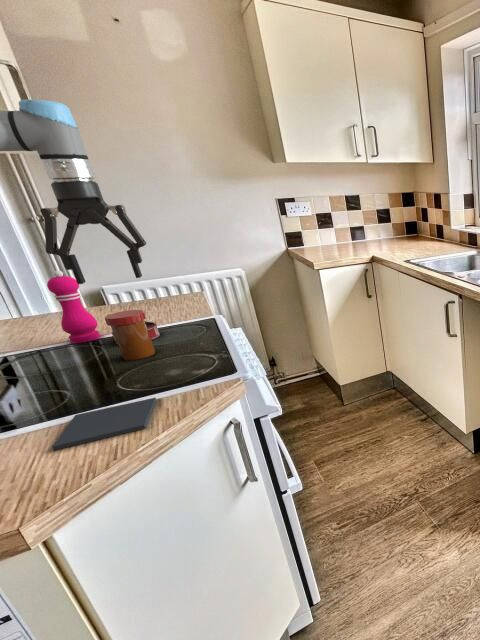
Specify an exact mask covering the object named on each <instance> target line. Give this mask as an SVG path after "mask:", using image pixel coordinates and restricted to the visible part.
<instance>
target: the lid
mask: <svg viewBox="0 0 480 640" xmlns="http://www.w3.org/2000/svg"><path fill="white" fill-rule="evenodd" d="M109 314H110V315H109ZM109 314H106V315H105V316H104V321H105V324H106V325H107V326H108V327H111V326H121V325H128V324H133V323H136V322H140V321H142V320H144V321H145V320H146V319H147V316H146V314H145V312H144V310H143V309H130V310H122V311H118V312H114V313H109Z"/></svg>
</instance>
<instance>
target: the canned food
mask: <svg viewBox="0 0 480 640" xmlns="http://www.w3.org/2000/svg"><path fill="white" fill-rule="evenodd" d="M110 314H111V313H109V314H108V315H110ZM144 321H145V324H146V327H147V330H148V332H149V335H150V338H151V340H154V339H156V338H158V337H159V336H160V335H161V333H160V330H159V328H158V325H157V323H156V322H153V321H146V320H144ZM111 335H112V337H113V340H114V342H115V344H116V345H118V344H117V341H116V338H115V336H114V333H113V331H112V332H111Z"/></svg>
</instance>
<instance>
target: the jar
mask: <svg viewBox="0 0 480 640" xmlns="http://www.w3.org/2000/svg"><path fill="white" fill-rule="evenodd" d="M145 321H146V320H145V319H144V320H142V321H140V322H136V323H133V324H128V325H121V326H110V328H111V331H112V332H113V333H114V336H115V338H116V341H117V344H116V345H117V346H118V348H119V351H120V353H121V356H122V359H123V360H125V361H134V360H140V359H145V358H148V357H151V356H153V355H155V354H156V348H155V346H154V343H153V340H152V339H151V338H150V335H149V332H148V330H147V327H146V324H145Z"/></svg>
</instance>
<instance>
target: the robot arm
mask: <svg viewBox="0 0 480 640" xmlns="http://www.w3.org/2000/svg"><path fill="white" fill-rule="evenodd" d="M18 107H19V108H18V110H0V152H37V154H38V155H39V159H40V162H41V164H42V167H43V169H44V171H45V174H46V176H47V178H48V179H49V180H52V182H51V183H50V186H51V189H52V191H53V194H54V196H55V200H56V201H57V206H56V207H42V208H40V213H41V215H42V217H43V219H44V239H45V240H44V241H45V252H46V254H48V255H54V256H55V255H56V256H59V257H60V259H61V262H62V263H63V266H64V269H65V270H66V271H72V274H73V276H74V279H75V280H76V281H77V283H78V284H79V285H84V284H85V283H86V282H87V281H86V279H85V276H84V274H83V271H82V269H81V266H80V264H79V261H78V259H77V256H76V255H75V254H74V253H73V254H71V249H72V247H73V243H74V241H75V238H76V234H77V231H78V228H79V226H83V225H84V226H85V225H90V224H91V225H99V224H100V225H101V226H102V227H104V228H105V229H107V230H108V231H109V232H110V233H111V234H112V235H113V236H114V237H116V239H118V240H119V241H120V242H122V243H123V244H124V245H125V246H126V247H127V248H128V250H126V254H127V257H128V259H129V262H130V265H131V268H132V271H133V275H134V276H135V278H136V279H141V277H143V274H142V271H141V269H140V265H139V264H142V263H143V259H142V256H141V253H140V248H143V247H145V246H146V245H147V241H146V240H145V238H143V236H142V235H141V233H140V232H139V230H138V229H137V227H136V226H135V224H134V223H133V222H132V220H131V219H130V218H129V216H128V215H127V211H126V208H125V206H124V204H116V205H115V204H113V205H112V204H108V203H106V202H105V200H104V197H103V195H102V192H101V189H100V186H99V184H98V182H97V181H94V179H96V175H95V172H94V169H93V167H92V165H91V161H90V159H89V156H88V154H87V151H86V147H85V145H84V142H83V139H82V136H81V133H80V131H79V126H77V123H76V121H75V119H74V117H73V114H72V112H71V109H70V107H68V106H67V105H66V104H64V103H62V102H59V101H54V100H48V99H47V100H45V99H20V100H19V101H18ZM109 211H111V212H112V214H114V215H116V216H117V217H118V219H119V220H120V222H121V223H122V224H123V226H124V228H125V229H126V230H127V231H128V233H129V234H130V235H131V237H132V238H133V239H134V241H135V242H134V241H133V240H132V239H131V238H130V237H129V236H128V235H126V234H125V233H124V231H122V230H121V229H120V228H118V226H116V224H114V223H113V222H112V221H111V220H110V219H109V218H108V217H107V215H108V213H109ZM59 214H62V215H63V216H64V217H65V218H67V222H66V228H65V231H64V234H63V237H62V240H61V242H60V246H59V247H58V227H57V226H58V224H57V223H58V222H57V218H58V217H59Z"/></svg>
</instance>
